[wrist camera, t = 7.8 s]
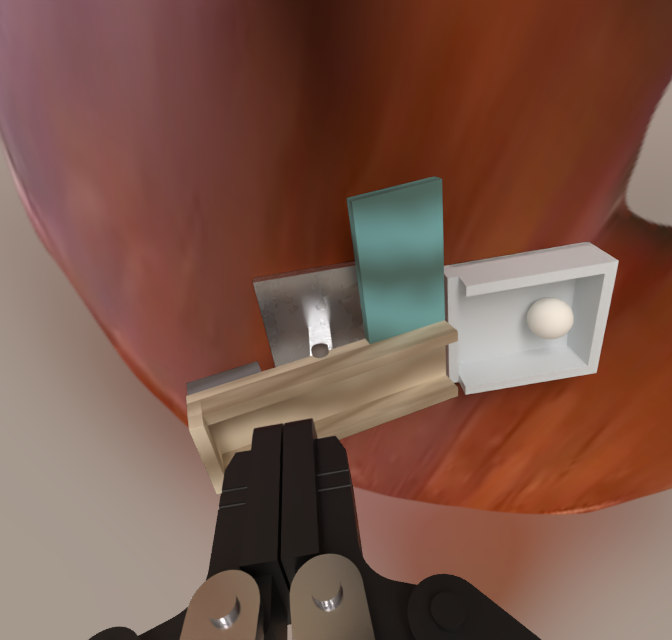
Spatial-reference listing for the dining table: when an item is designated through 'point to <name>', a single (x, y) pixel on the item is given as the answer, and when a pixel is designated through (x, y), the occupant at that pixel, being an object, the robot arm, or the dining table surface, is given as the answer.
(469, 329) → the tray
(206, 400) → the lever
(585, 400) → the dining table surface
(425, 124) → the dining table surface
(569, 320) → the ball
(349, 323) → the lever stand
